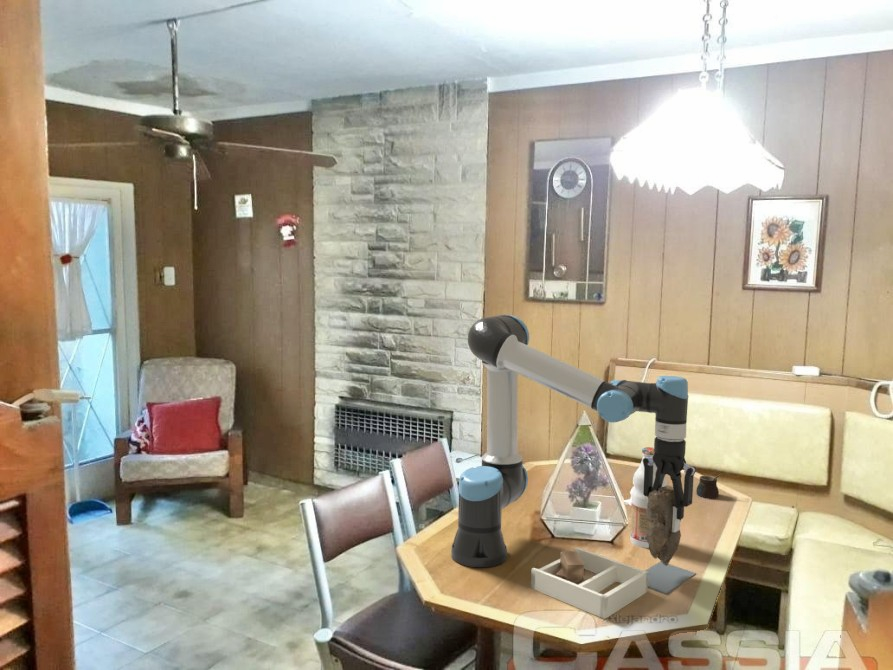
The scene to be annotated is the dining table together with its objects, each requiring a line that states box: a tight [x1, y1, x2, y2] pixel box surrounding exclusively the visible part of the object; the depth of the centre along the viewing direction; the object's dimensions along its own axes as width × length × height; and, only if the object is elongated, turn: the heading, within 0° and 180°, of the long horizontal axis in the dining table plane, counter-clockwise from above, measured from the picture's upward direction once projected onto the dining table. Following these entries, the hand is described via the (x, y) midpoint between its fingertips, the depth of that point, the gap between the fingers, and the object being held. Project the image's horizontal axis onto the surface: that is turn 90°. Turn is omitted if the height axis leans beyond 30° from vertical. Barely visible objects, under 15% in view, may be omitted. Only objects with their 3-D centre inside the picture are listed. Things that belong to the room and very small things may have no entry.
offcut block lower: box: [555, 569, 582, 585], centre depth 178 cm, size 4×8×4 cm, turn 147°
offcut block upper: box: [559, 550, 585, 580], centre depth 177 cm, size 4×8×4 cm, turn 3°
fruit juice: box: [629, 446, 667, 549], centre depth 202 cm, size 9×9×28 cm
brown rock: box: [646, 485, 682, 566], centre depth 180 cm, size 14×5×20 cm, turn 134°
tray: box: [530, 546, 649, 620], centre depth 174 cm, size 21×19×5 cm
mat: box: [644, 560, 697, 595], centre depth 181 cm, size 10×16×1 cm, turn 135°
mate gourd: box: [695, 473, 722, 500], centre depth 242 cm, size 7×8×10 cm
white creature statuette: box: [624, 480, 635, 507], centre depth 232 cm, size 10×9×12 cm
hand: (665, 527), depth 180 cm, fingers closed on brown rock, 5 cm apart
